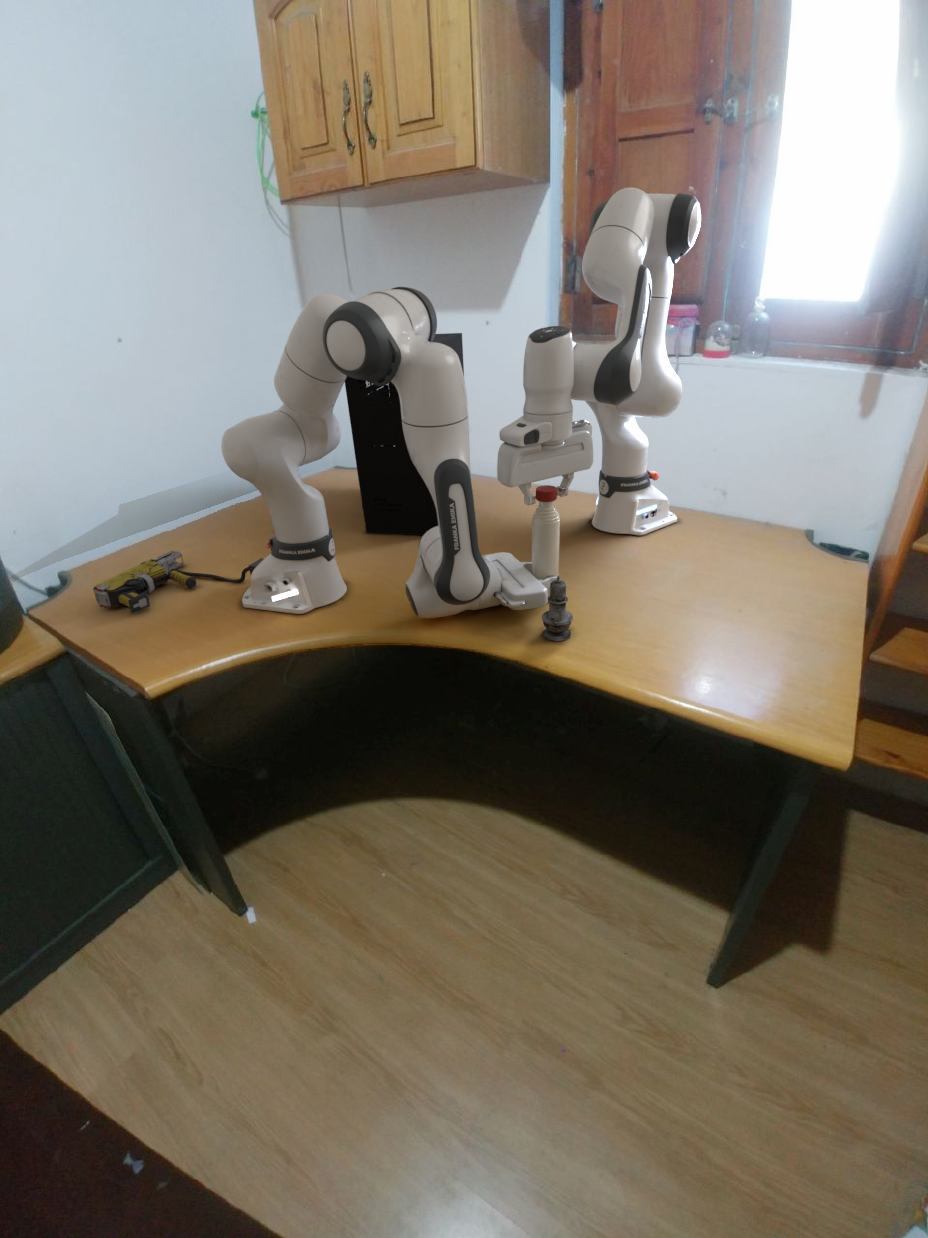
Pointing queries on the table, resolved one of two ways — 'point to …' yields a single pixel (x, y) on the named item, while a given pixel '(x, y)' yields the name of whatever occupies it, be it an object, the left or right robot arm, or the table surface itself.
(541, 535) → the bottle
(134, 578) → the toy gun
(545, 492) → the cap
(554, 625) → the grey stepped cylinder
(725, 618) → the table surface
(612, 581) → the table surface
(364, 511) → the black tall box
